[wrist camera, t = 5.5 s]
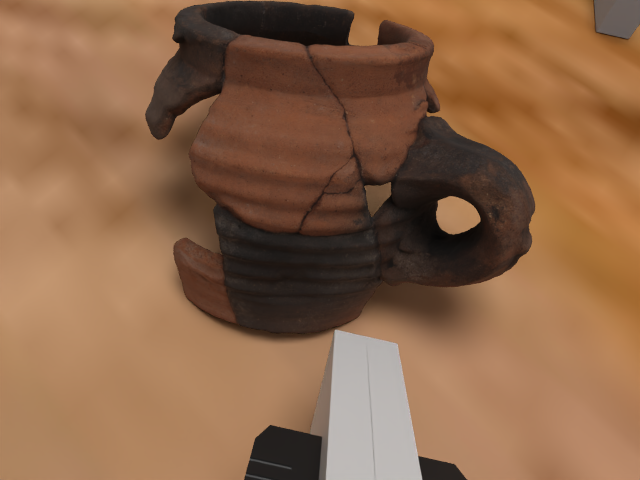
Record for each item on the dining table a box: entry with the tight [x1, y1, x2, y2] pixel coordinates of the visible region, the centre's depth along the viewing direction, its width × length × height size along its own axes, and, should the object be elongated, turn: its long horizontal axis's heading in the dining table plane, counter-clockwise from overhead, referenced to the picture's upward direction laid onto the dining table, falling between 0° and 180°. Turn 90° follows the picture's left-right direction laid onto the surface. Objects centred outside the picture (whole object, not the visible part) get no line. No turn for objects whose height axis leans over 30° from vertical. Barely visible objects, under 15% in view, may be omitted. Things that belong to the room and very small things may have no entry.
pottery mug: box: [145, 1, 535, 334], centre depth 19 cm, size 12×10×8 cm
